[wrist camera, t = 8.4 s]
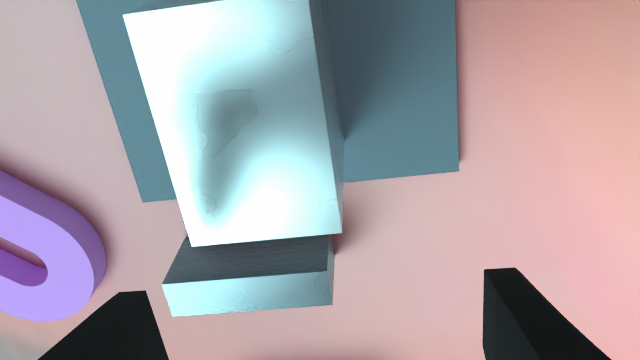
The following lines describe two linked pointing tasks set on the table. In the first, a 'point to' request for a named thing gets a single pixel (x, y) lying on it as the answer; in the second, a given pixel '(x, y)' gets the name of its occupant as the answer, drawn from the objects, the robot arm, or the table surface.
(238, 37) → the steel block
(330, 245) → the vise jaws
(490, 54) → the table surface
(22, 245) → the bracket
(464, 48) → the table surface
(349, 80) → the slate mat
